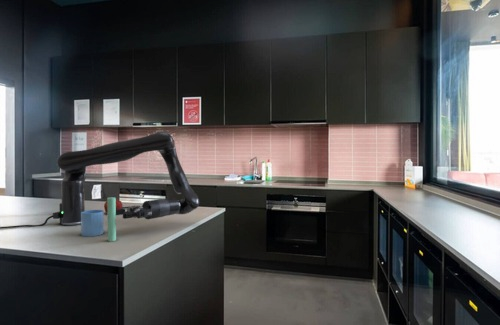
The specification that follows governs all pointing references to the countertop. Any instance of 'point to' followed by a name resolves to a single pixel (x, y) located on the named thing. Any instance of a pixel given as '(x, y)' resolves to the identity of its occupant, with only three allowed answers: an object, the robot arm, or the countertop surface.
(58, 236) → the countertop surface
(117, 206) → the tomato
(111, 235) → the mint green tapered cylinder
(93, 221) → the cup
